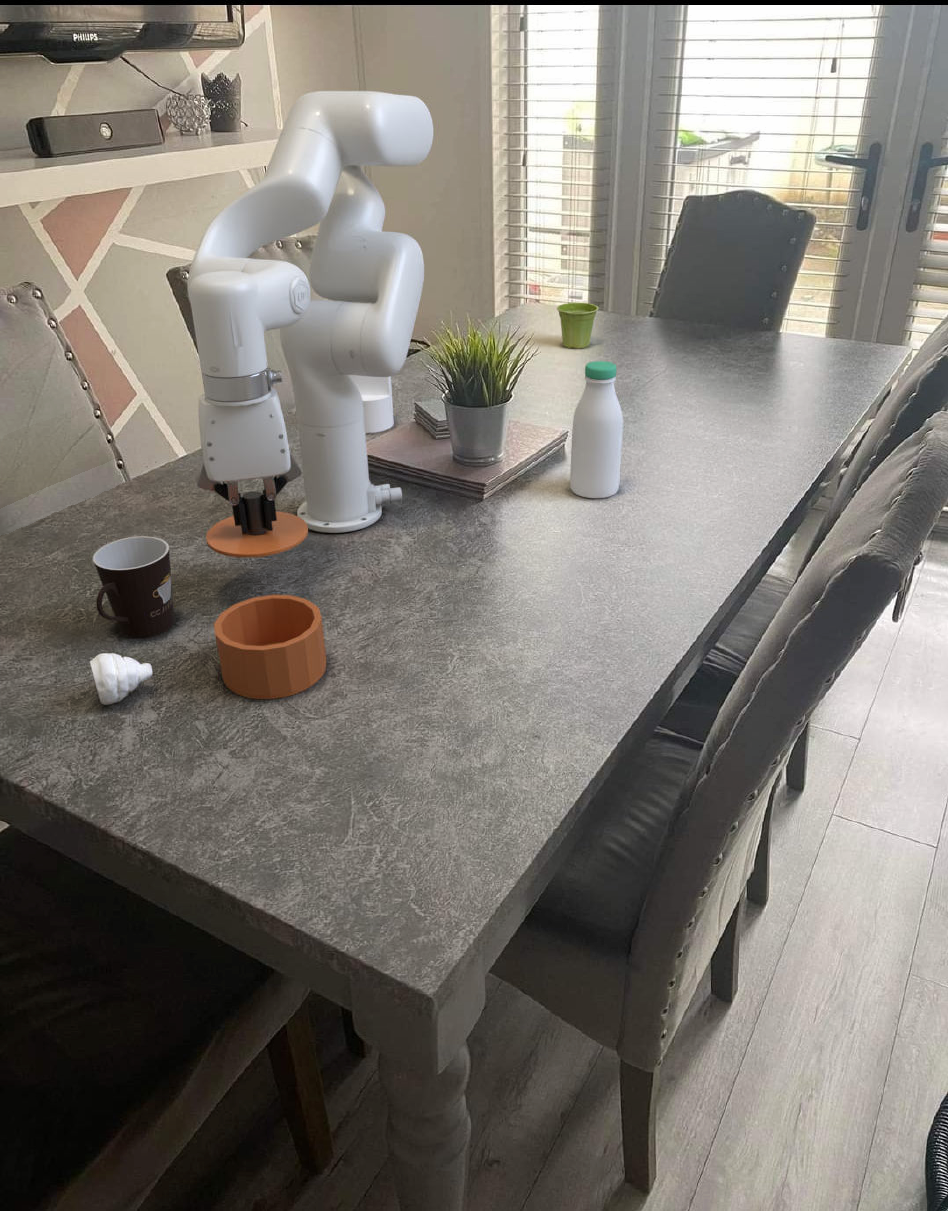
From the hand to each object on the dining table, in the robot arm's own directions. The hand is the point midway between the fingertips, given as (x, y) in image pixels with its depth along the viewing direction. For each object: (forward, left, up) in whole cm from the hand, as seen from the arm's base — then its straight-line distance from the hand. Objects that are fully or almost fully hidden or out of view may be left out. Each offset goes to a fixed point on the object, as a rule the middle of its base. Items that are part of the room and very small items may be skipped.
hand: (256, 526), depth 121 cm
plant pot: (-81, -95, -9) cm, 125 cm away
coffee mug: (+16, +5, -9) cm, 19 cm away
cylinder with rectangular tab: (-25, -58, -9) cm, 64 cm away
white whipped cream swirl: (+17, +19, -9) cm, 27 cm away
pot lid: (0, 0, -1) cm, 1 cm away
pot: (+1, +19, -9) cm, 21 cm away
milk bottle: (-53, -17, -9) cm, 57 cm away
